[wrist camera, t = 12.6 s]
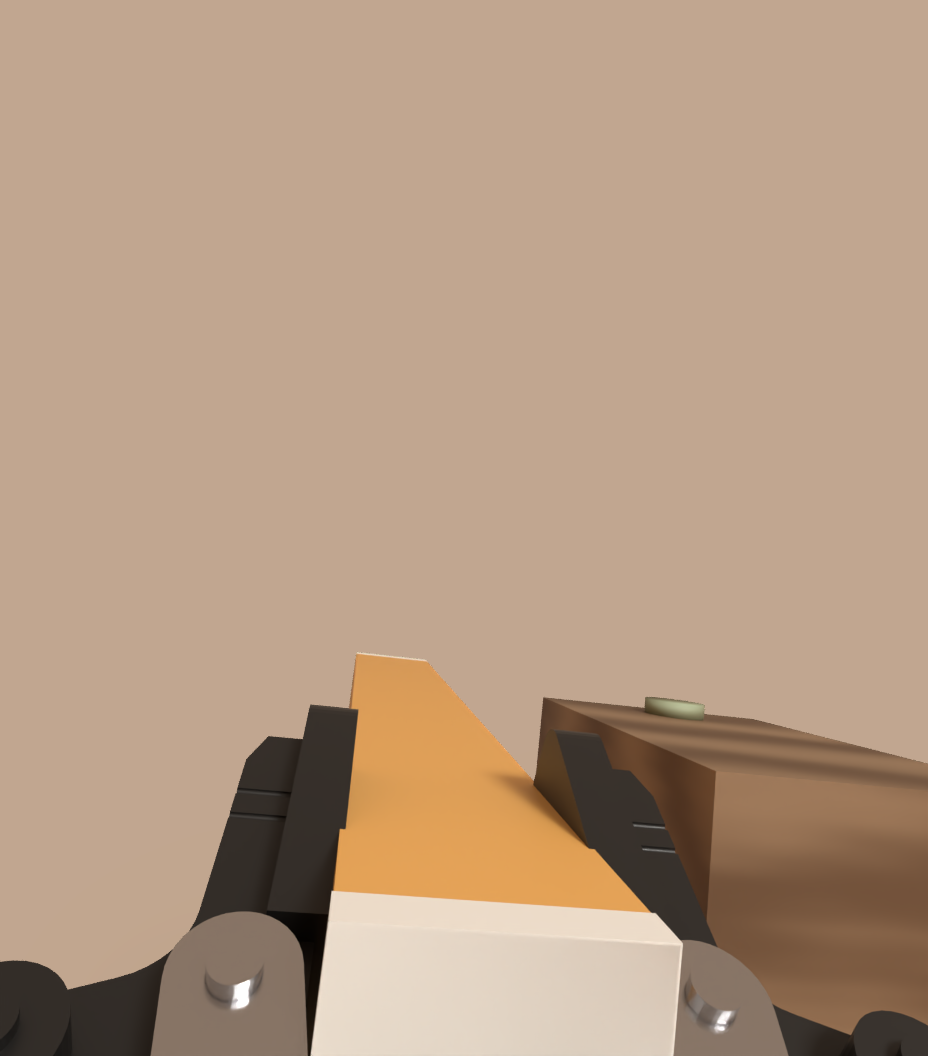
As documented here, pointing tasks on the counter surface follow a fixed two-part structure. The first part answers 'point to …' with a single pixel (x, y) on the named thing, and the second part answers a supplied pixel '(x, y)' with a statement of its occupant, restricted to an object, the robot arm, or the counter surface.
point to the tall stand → (787, 849)
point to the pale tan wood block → (475, 901)
